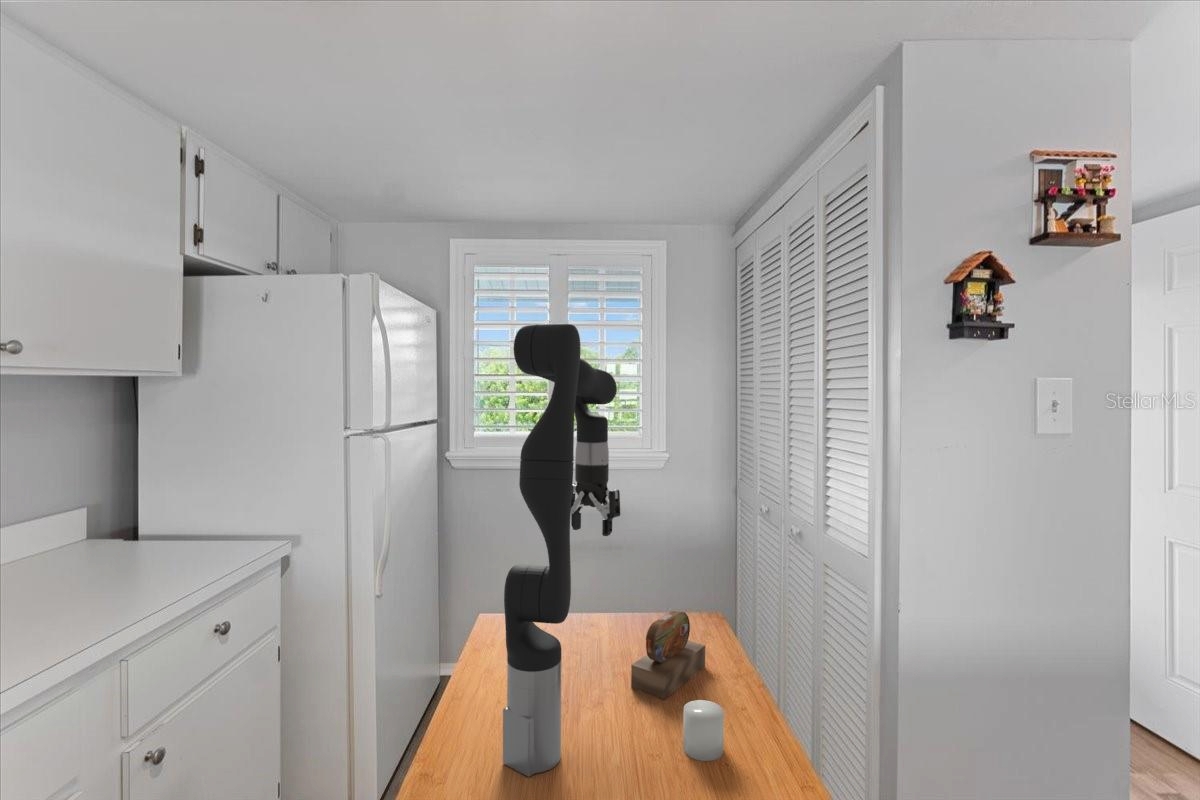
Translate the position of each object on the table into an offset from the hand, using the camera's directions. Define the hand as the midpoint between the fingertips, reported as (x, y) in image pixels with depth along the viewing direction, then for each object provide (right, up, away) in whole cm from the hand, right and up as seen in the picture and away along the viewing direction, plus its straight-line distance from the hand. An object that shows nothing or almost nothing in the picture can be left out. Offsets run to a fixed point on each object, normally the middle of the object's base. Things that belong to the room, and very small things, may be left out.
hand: (591, 532), depth 142 cm
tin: (+17, -26, -5) cm, 31 cm away
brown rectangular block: (+17, -31, -5) cm, 35 cm away
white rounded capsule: (+20, -32, -31) cm, 49 cm away
